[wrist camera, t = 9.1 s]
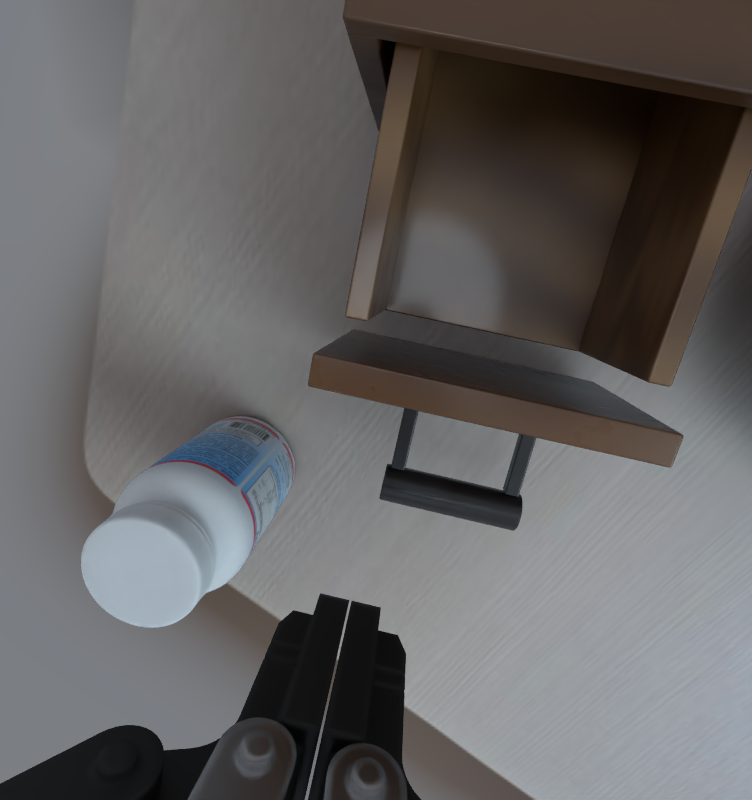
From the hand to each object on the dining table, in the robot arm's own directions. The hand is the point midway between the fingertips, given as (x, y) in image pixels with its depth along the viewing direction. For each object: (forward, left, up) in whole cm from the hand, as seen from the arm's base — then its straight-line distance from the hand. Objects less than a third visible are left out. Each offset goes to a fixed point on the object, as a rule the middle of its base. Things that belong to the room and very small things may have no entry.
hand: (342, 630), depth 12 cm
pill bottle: (-8, -4, -16) cm, 18 cm away
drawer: (+3, +9, -15) cm, 18 cm away
